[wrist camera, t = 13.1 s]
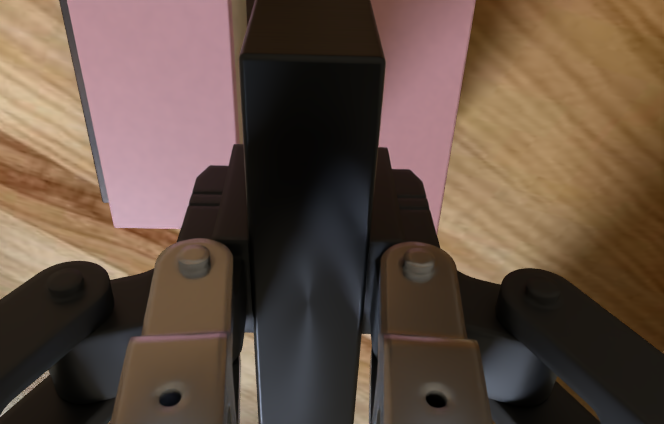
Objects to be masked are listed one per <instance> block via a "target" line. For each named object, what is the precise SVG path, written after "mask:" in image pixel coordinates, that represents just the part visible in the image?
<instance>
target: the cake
mask: <svg viewBox="0 0 664 424" xmlns="http://www.w3.org/2000/svg"><path fill="white" fill-rule="evenodd" d="M67 4H68V8H69V13H70V18H71V23H72V28H73V32H74V37H75V42H76V47H77V52H78V56H79V61H80V66H81V71H82V76H83V80H84V85H85V90H86V95H87V100H88V104H89V109H90V114H91V119H92V124H93V128H94V133H95V138H96V143H97V148H98V152H99V157H100V162H101V167H102V172H103V176H104V181H105V186H106V191H107V196H108V200H109V205H110V210H111V215H112V220H113V224H114V227H115V228H162V229H181V227H182V224H183V220H184V217H185V214H186V211H187V207H188V206H189V201H190V197H191V194H192V191H193V188H194V184H195V181H196V178H197V177H198V176H199V175H200V174H201V173H202V172H203V171H204V170H205V169H206V168H207V167H208V166H210V165H223V166H229V162H230V157H231V153H232V149H233V145H234V144H243V131H242V113H241V95H240V77H239V55H240V52H241V48H242V44H243V41H244V37H245V34H246V30H247V11H246V0H67Z"/></svg>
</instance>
